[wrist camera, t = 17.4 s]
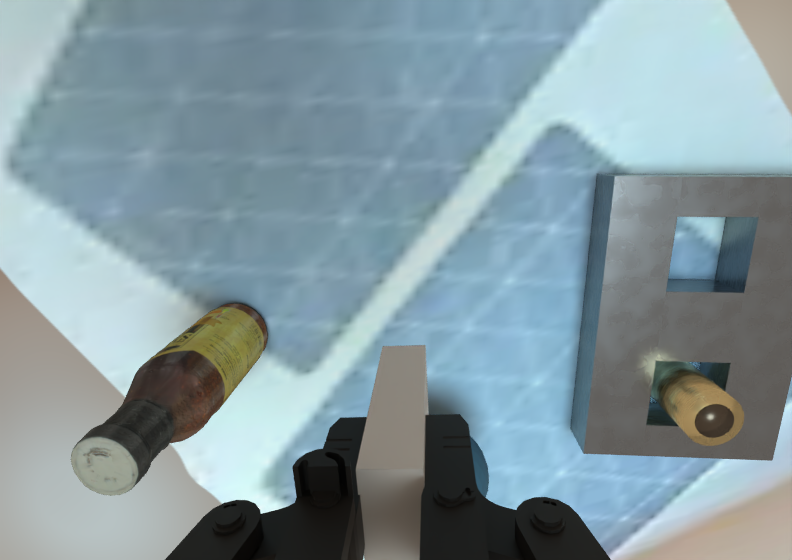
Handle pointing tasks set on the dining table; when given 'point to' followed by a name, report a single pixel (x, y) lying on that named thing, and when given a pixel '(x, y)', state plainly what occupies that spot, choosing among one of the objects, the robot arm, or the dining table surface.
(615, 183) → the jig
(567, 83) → the dining table surface
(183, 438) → the sauce bottle
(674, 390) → the bushing
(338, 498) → the robot arm
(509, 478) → the dining table surface
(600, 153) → the dining table surface
